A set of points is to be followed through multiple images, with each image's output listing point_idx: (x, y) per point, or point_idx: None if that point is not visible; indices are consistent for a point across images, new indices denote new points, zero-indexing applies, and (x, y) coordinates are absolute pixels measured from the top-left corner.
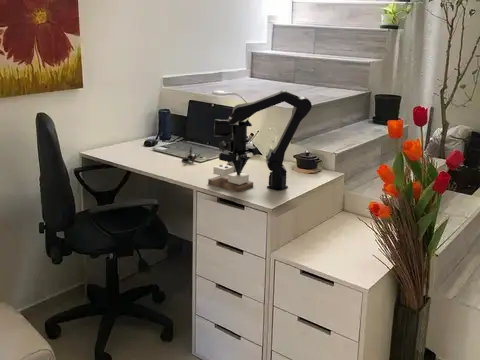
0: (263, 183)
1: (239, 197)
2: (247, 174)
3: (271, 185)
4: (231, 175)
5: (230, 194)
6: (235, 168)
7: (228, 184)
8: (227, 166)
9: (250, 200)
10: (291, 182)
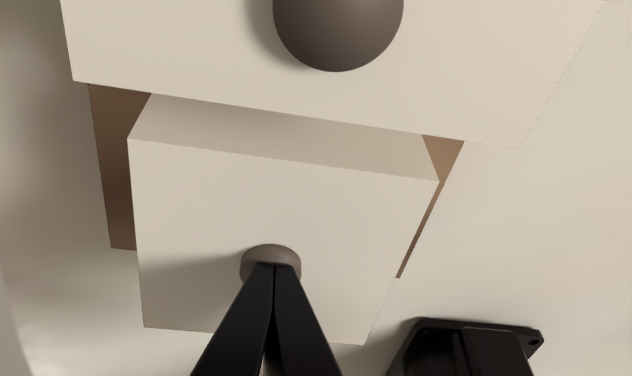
0: (539, 259)
1: (26, 272)
2: (358, 335)
3: (423, 362)
4: (137, 209)
5: (7, 182)
6: (207, 347)
7: (107, 109)
8: (396, 20)
9: (53, 343)
10: (625, 369)
